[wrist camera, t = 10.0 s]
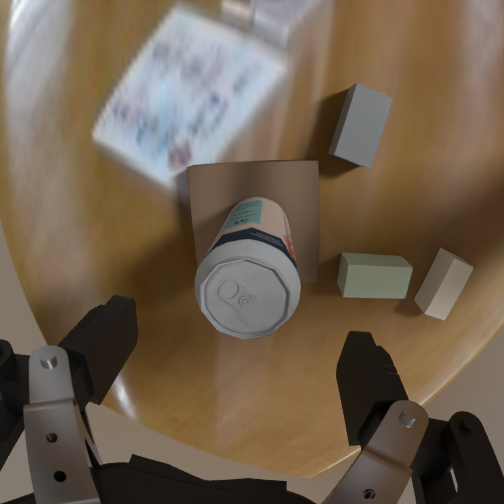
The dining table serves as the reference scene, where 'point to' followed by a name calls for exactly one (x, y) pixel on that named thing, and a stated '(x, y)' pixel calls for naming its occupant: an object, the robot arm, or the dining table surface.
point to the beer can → (250, 272)
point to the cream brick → (443, 284)
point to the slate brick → (360, 125)
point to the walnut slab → (258, 185)
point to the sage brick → (373, 276)
